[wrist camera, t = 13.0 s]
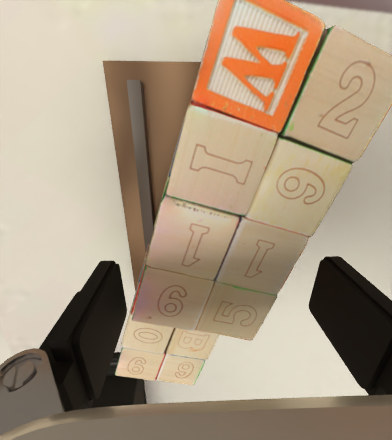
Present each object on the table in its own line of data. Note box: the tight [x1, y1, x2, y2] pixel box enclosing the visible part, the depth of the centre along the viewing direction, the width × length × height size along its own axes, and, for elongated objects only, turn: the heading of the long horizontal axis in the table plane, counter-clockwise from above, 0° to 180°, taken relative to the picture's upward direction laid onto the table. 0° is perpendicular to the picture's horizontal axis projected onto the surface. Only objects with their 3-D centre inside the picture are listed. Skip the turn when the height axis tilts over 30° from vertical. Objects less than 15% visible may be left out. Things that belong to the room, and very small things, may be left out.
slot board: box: [103, 61, 201, 291], centre depth 22 cm, size 14×23×2 cm, turn 0°
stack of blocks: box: [115, 0, 392, 385], centre depth 15 cm, size 21×6×12 cm, turn 162°
